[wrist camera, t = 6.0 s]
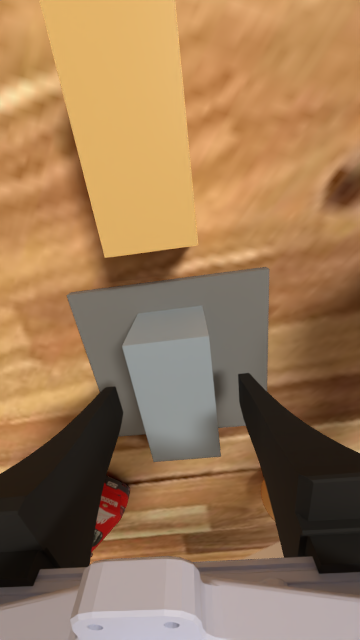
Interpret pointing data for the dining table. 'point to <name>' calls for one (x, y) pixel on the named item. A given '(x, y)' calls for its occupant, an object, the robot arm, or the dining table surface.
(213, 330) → the mat
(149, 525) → the dining table surface
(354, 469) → the robot arm
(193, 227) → the ochre brick
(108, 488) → the race car
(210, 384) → the slate brick
